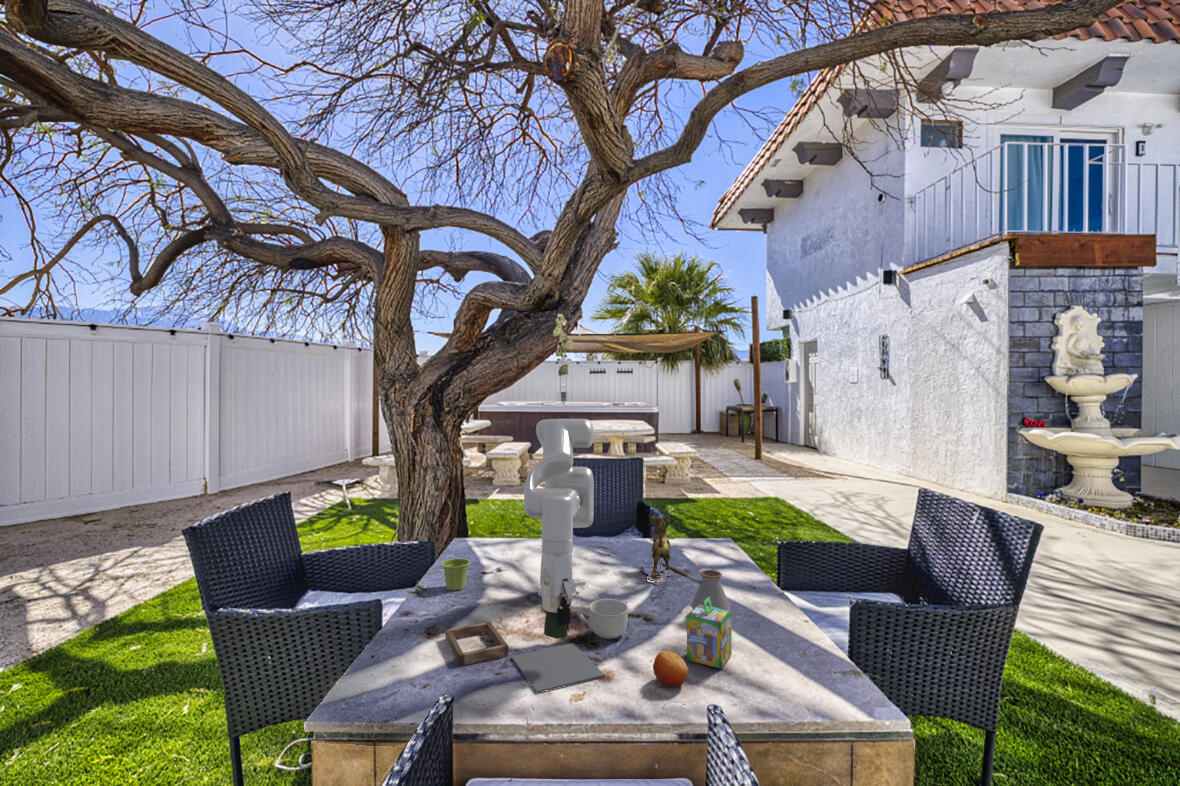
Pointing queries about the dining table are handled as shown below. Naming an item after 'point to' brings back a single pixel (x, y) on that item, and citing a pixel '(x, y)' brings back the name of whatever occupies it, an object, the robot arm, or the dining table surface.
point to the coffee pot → (707, 588)
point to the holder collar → (476, 655)
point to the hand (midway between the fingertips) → (556, 617)
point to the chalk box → (709, 635)
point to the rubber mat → (556, 667)
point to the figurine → (660, 545)
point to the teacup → (606, 617)
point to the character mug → (552, 614)
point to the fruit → (669, 669)
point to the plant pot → (455, 573)
